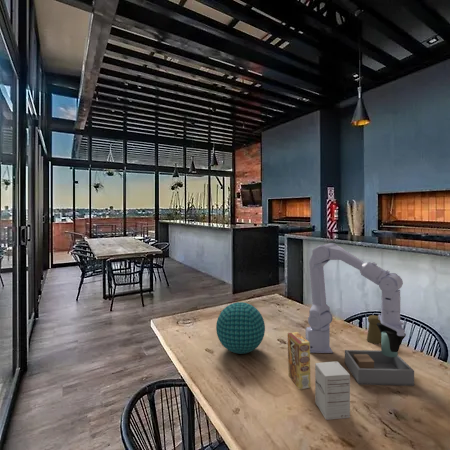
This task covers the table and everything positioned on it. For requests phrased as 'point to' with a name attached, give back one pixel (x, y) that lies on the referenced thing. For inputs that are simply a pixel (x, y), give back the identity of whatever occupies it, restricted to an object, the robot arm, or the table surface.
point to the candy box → (299, 360)
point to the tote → (380, 369)
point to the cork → (374, 330)
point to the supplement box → (332, 390)
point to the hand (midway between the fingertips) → (390, 347)
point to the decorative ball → (240, 328)
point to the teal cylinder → (386, 346)
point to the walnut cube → (364, 361)
